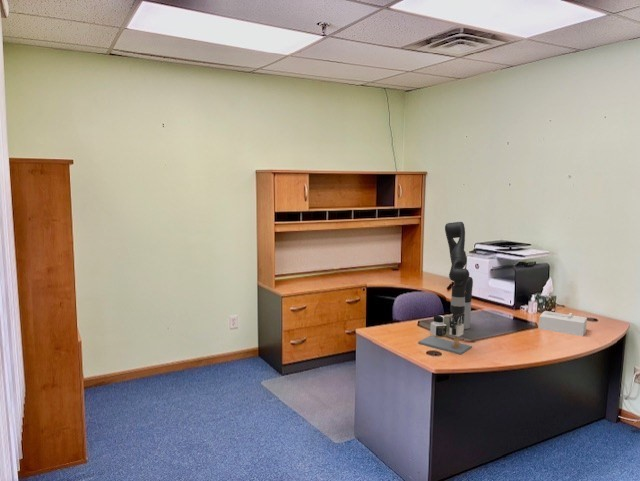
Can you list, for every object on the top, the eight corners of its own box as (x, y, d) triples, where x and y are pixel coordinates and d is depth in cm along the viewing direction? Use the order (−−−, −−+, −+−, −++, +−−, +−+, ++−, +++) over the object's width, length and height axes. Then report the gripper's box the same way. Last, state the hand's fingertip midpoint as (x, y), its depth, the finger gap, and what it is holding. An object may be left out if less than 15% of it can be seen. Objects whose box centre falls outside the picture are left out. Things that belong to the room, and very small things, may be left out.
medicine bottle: (435, 337, 286) (436, 317, 284) (430, 333, 293) (430, 314, 291) (446, 336, 288) (447, 317, 286) (440, 332, 295) (441, 313, 293)
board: (430, 337, 285) (430, 327, 284) (471, 348, 268) (472, 337, 267) (418, 343, 275) (418, 333, 274) (460, 354, 257) (461, 343, 257)
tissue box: (582, 336, 289) (584, 319, 288) (538, 329, 304) (539, 312, 302) (585, 330, 301) (587, 314, 300) (543, 323, 315) (544, 307, 314)
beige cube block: (453, 332, 269) (454, 321, 269) (463, 334, 266) (463, 323, 265) (449, 334, 265) (449, 324, 265) (458, 336, 262) (459, 326, 261)
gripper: (457, 300, 271) (455, 329, 273) (445, 305, 261) (444, 335, 263) (469, 303, 266) (468, 332, 268) (458, 307, 256) (456, 338, 258)
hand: (456, 333), depth 265 cm, fingers closed on beige cube block, 5 cm apart
